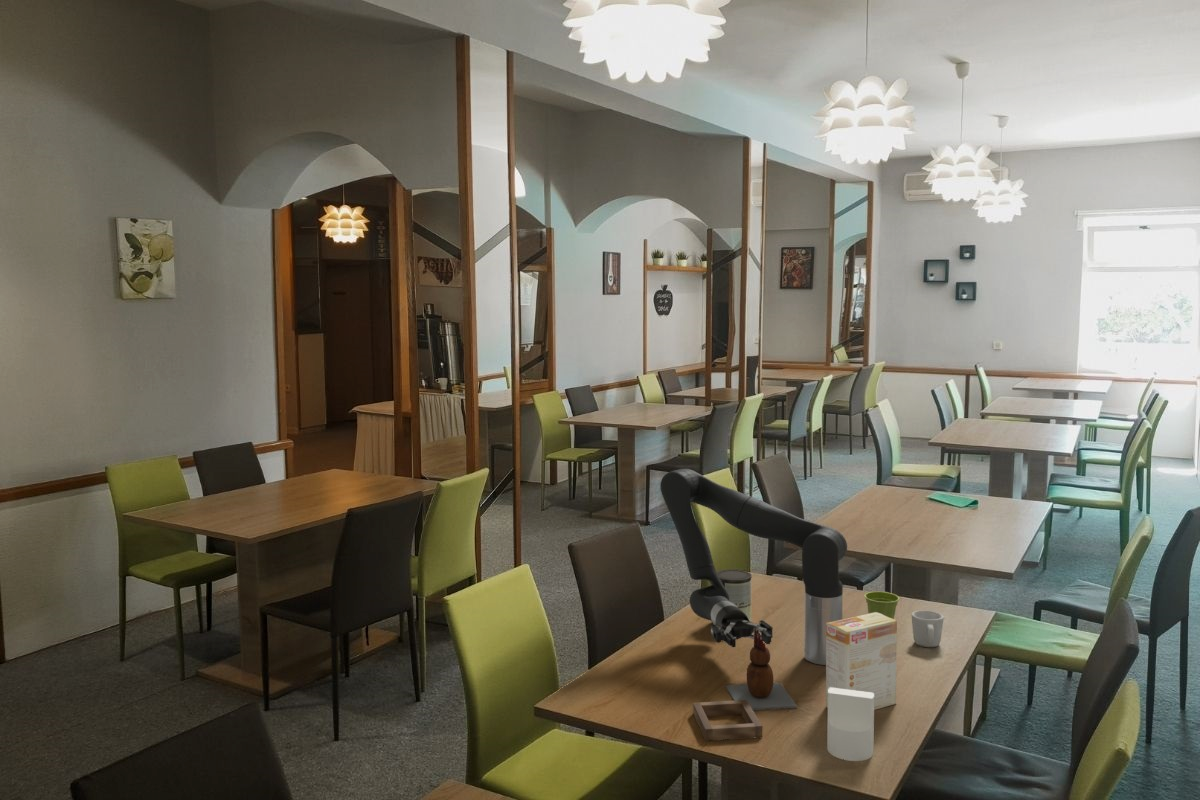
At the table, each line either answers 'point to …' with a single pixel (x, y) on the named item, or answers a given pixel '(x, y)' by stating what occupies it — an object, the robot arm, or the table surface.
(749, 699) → the mat
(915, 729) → the table surface
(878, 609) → the plant pot
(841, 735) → the base with upright slab
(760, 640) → the wooden figurine
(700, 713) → the square wooden frame
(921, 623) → the cup
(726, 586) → the coffee can
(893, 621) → the coffeecake box
